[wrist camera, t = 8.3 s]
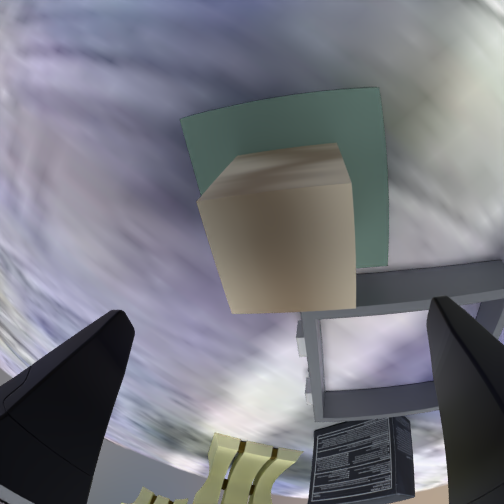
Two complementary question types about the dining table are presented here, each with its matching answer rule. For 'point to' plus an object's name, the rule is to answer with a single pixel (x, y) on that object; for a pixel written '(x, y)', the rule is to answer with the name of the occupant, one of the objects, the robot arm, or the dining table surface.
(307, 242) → the block
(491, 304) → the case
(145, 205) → the dining table surface
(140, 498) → the slatted curved stool
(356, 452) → the small box
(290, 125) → the mat
